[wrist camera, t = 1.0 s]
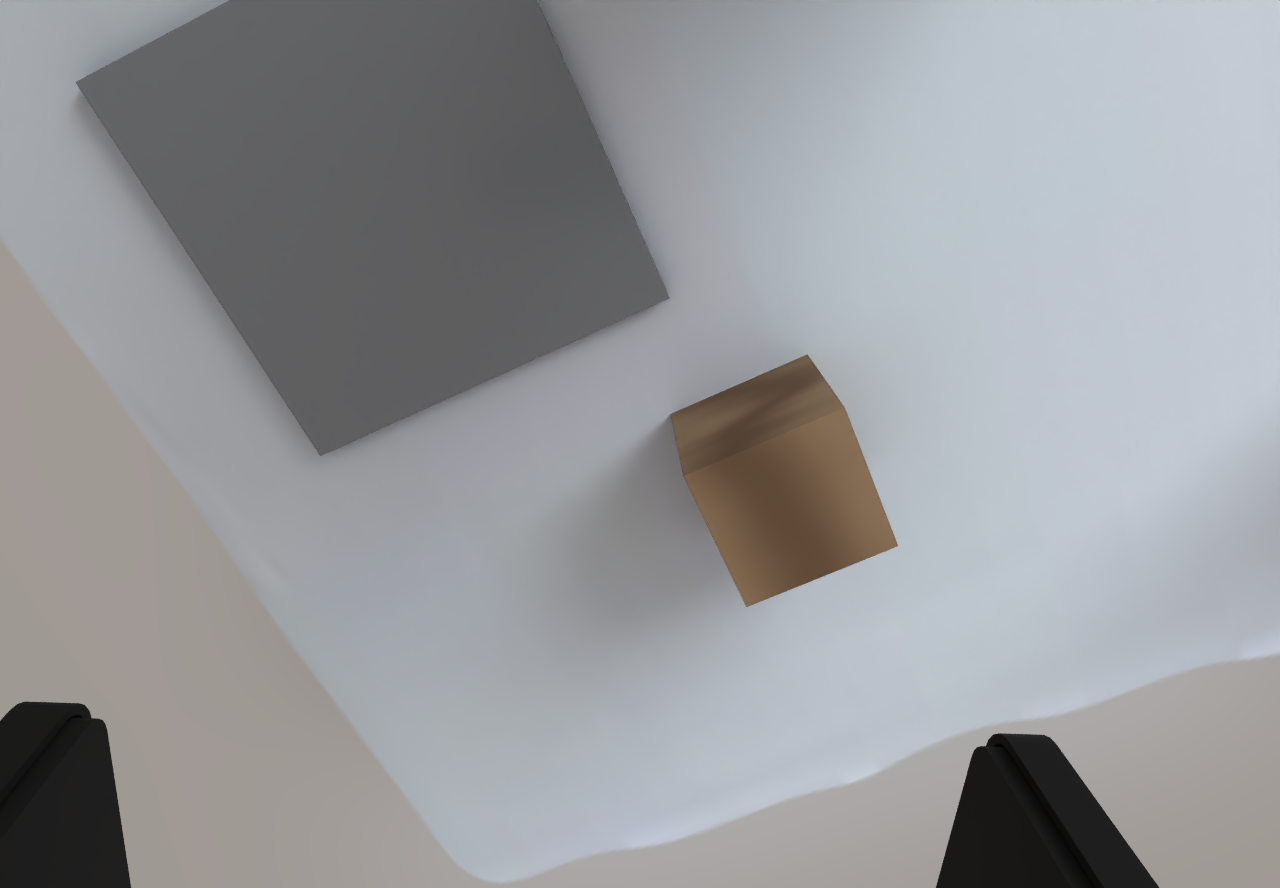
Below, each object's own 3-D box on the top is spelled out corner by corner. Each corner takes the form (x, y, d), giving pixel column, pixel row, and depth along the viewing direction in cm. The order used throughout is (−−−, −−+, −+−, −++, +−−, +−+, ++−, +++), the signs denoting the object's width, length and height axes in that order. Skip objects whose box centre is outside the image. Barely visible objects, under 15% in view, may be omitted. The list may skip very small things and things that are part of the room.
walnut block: (807, 353, 34) (844, 407, 29) (855, 476, 36) (898, 545, 31) (670, 413, 34) (683, 476, 29) (725, 529, 36) (746, 607, 31)
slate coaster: (479, -128, 27) (477, -132, 27) (667, 293, 32) (669, 298, 32) (85, 81, 29) (75, 82, 28) (324, 449, 34) (320, 455, 34)
